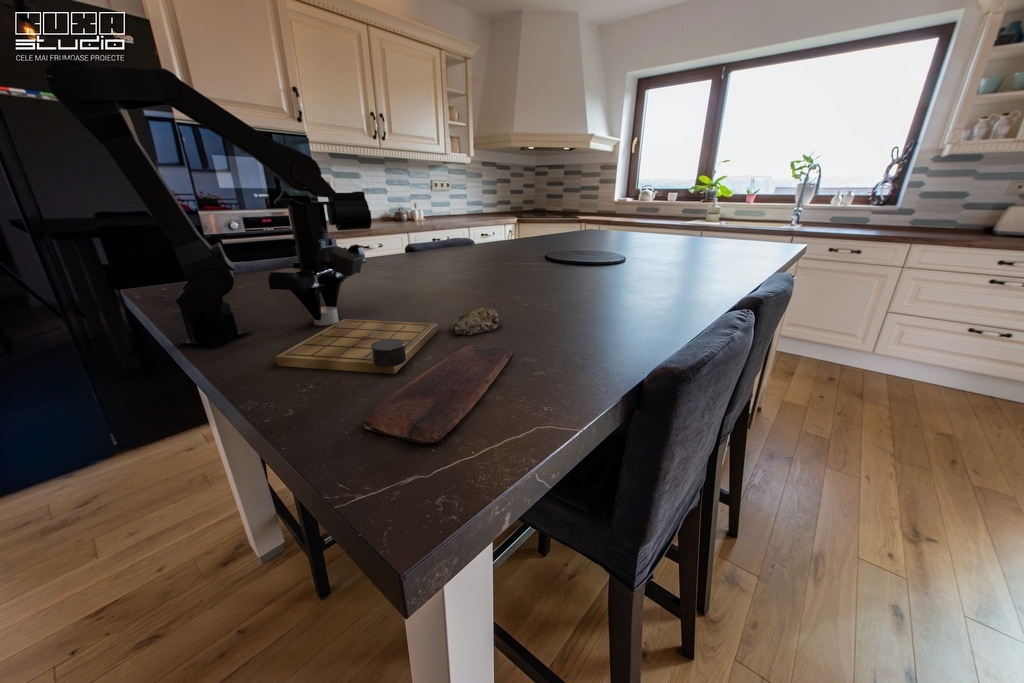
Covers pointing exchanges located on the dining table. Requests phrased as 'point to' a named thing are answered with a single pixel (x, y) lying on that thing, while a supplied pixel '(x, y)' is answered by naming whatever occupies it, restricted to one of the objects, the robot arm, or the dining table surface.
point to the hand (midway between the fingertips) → (325, 316)
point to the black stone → (388, 352)
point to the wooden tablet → (439, 395)
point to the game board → (355, 345)
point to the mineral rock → (476, 322)
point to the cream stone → (327, 316)
